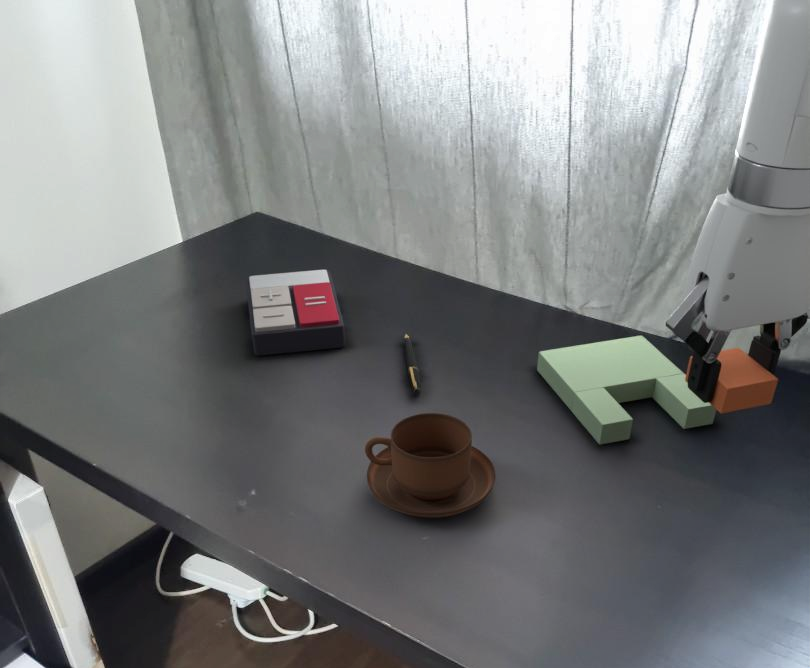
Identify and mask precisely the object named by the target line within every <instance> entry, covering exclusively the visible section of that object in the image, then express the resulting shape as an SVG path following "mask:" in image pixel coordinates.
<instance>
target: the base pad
mask: <svg viewBox="0 0 810 668" xmlns="http://www.w3.org/2000/svg"><path fill="white" fill-rule="evenodd" d="M536 371H537V372H538V373H539V374H540V375H541V377H542V378H543V379H544V380H545V381H546V383H547V384H548V385H549V387H550V388H551V389H552V390H553V391H554V393H556V395H557V396H558V397H559V398H560V400H561V401H562V402H563V403H564V404H565V405H566V406H567V407H568V409H569V410H570V411H571V412H572V414H573V415H574V416H575V417H576V419H577V420H578V421H579V422H580V424H581V425H582V426H583V427H584V428H585V430H587V432H588V433H589V434H590V435H591V436H592V438H593V439H594V440H595V441H596V443H598V445H604V444H611V443H615V442H621V441H626V440H630V439H631V433H632V428H633V422H634V419H633V418H632V416H631V415H630V414H629V413H628V412H627V411H626V410H625V408H623V407H622V405H621V404H620V403H626V402H627V403H628V402H633V401H639V400H644V399H650V398H652V399H653V400H654V401H655V402H656V403H657V404H658V405H659V406H660V407H661V408H662V409H663V410H664V411H665V412H666V413H667V414H668V415H669V416H670V417H671V418H672V419H673V420H674V421H675V422H676V423H677V424H678V425H679V426H680V427H681V428H682V429H683V430H686V429H691V428H696V427H701V426H702V427H703V426H708V425H712V424H714V420H715V416H716V413H717V410H716V409H715V408H714V407H713V406H712V405H711V404H710V403H709V402H708V403H704V402H703V401H702V400H701V399H699V398H698V397H697V396H696V395H695V394H694V393H693V392H692V391H691V390H690V389H689V388H688V383H687V382H686V381H685V378H686V374H685V373H684V372H683V371H682V370H681V369H680V368H679V367H678V366H677V365H675V364H674V363H673V362H672V361H671V360H670V359H669V358H667V357H666V356H665V355H664V353H662V352H661V351H660V350H659V349H658V348H657V347H655V346H654V345H653V343H651V342H650V341H649V340H647V338H645V336H643V335H641V334H640V335H636V336H630V337H622V338H617V339H610V340H604V341H596V342H592V343H585V344H579V345H572V346H566V347H565V346H564V347H560V348H553V349H547V350H540V351H538V356H537V365H536Z"/></svg>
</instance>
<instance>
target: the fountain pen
mask: <svg viewBox="0 0 810 668" xmlns="http://www.w3.org/2000/svg"><path fill="white" fill-rule="evenodd" d="M403 338H404V340H403V341H404V342H403V343H404V350H405V358H406V363H407V364H406V365H407V375H408V379H409V383H410V386H411V387H410V388H411V390H412V391H413V393H414V394H415V395H420V394H421V387H422V385H421V376H420V370H419V368H418V364H417V359H416V356H415V352H414V347H413V343H412V341H411V338H410V336H409V335H408V334H407V333H405V335H404V337H403Z"/></svg>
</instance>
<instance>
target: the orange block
mask: <svg viewBox="0 0 810 668" xmlns="http://www.w3.org/2000/svg"><path fill="white" fill-rule="evenodd" d="M692 357H693V355H691V356H690V357H689V360H688V364H687V369H686V374H685V375H686V378H685V381H686V382H687V380H688V375H689V371H690V366H691V361H692ZM717 359H718V360H719V361H720V362H721V365H722V366H721V370H720V374H719V378H718V381H717V384H716V388H715V392H714V396H713V399H712V401H711V402H709V403H710V404H711V405H712V406H713V407H714V408H715V409H716V411H718V412H719V413H720V414H727V413H732V412H737V411H742V410H747V409H752V408H757V407H761V406H767V405H771V404H772V401H773V399H774V396H775V392H776V388H777V386H778V382H779V378H778V377H776V375H775V374H774V375H773V374H771V373H770V372H769V371H767V370H766V369H765V368H764V367H762V366H761V365H760V364H759V363H757V362H756V361H755V360H753V359H752V358H751V357H750V356H748V353H746V352H745V351H744V350H743V349H741V348H740V347H735V348H734V347H733V348H730V349H724V350H721V352H720V354H719V356H718V357H717ZM687 383H688V382H687Z"/></svg>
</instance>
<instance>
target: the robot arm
mask: <svg viewBox="0 0 810 668" xmlns="http://www.w3.org/2000/svg"><path fill="white" fill-rule="evenodd" d="M738 133H739V134H738V139H737V142H736V147H735V152H734V155H733V160H732V164H731V168H730V174H729V178H728V179H729V180H728V183H727V188H726V192H725V193H721V194H718V195H716V196H715V199H714V200H713V202H712V204H711V206H710V209H709V211H708V214H707V215H706V218H705V220H704V223H703V225H702V227H701V230H700V233H699V236H698V239H697V242H696V246H695V249H694V252H693V256H692V258H691V263H690V265H689V270H688V273H687V277H686V281H685V286H684V290H683V295H682V300H681V303H680V304H679V305H678V307H677V308H676V309H675V310H674V311H673V312H672V313H671V315H670V316H669V318H667V320H666V321H665V327H666V329H668V330H669V331H670V332H671V333H673V335H675V336H676V337H678V338H679V339H680V340H681V341H683V342H684V343H685V345H686V346H687V347H688V348H689V349H690V350H691V351H692V356H693V357H692V361H691V366H690V371H689V375H688V380H687V382H688V388H689V389H690V390H691V391H692V392H693V393H694V394H695V395H696V396H697V397H698V398H699V399H701V400H702V401H703V402H704V403H708V402H711V401H712V399H713V396H714V392H715V388H716V384H717V381H718V378H719V374H720V370H721V366H722V365H721V362H720V361H719V360H718V359H717V357H718V356H719V354H720V352H721V351H723V350H722V349H723V348H724V346H725V344H726V342H727V340H728V338H729V336H730V333H731V332H732V330H739V329H744V328H750V327H756V326H759V334H758V335H754V336H753V338H752V340H751V342H750V345H749V350H748V353H747V355H748V356H750V357H751V358H752V359H753V360H755V361H756V362H757V363H759V364H760V365H761V366H762V367H764V368H765V369H766V370H767V371H769V372H770V373H771V374H773V375H774V376H775V372H776V370H777V366H778V362H779V359H780V356H781V352H782V351H784V350H786V349H788V348H789V347H790V345H791V343H792V338H793V337H794V336H795V335H796V334H797V333H798V332H799V331H800V330H801V329H802V328H803V327H804V326H805V325H806V324H807V322H808V320H810V0H770V2H769V4H768V6H767V8H766V12H765V15H764V19H763V23H762V28H761V33H760V37H759V42H758V47H757V51H756V55H755V61H754V65H753V70H752V74H751V79H750V82H749V87H748V92H747V97H746V101H745V106H744V110H743V115H742V120H741V124H740V129H739V132H738ZM700 314H701V316H700V318H699V320H698V322H697V324H696V327H695V328H693V323H694V321H695V320H696V319H697V318H698V316H699V315H700ZM711 331H713V332H712V334H711V336H710V338H709V341H707V339H708V337H709V335H710V333H711Z"/></svg>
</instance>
